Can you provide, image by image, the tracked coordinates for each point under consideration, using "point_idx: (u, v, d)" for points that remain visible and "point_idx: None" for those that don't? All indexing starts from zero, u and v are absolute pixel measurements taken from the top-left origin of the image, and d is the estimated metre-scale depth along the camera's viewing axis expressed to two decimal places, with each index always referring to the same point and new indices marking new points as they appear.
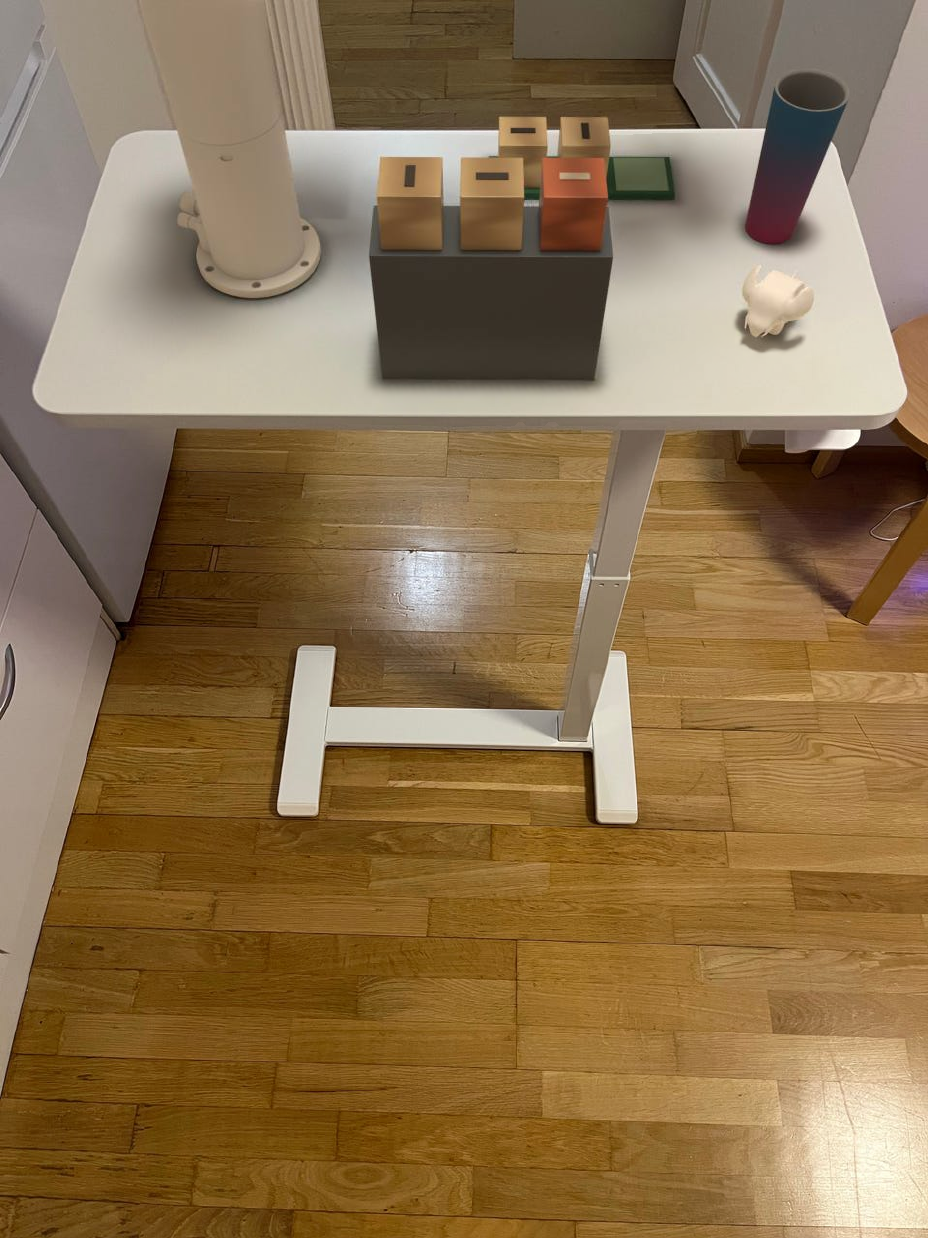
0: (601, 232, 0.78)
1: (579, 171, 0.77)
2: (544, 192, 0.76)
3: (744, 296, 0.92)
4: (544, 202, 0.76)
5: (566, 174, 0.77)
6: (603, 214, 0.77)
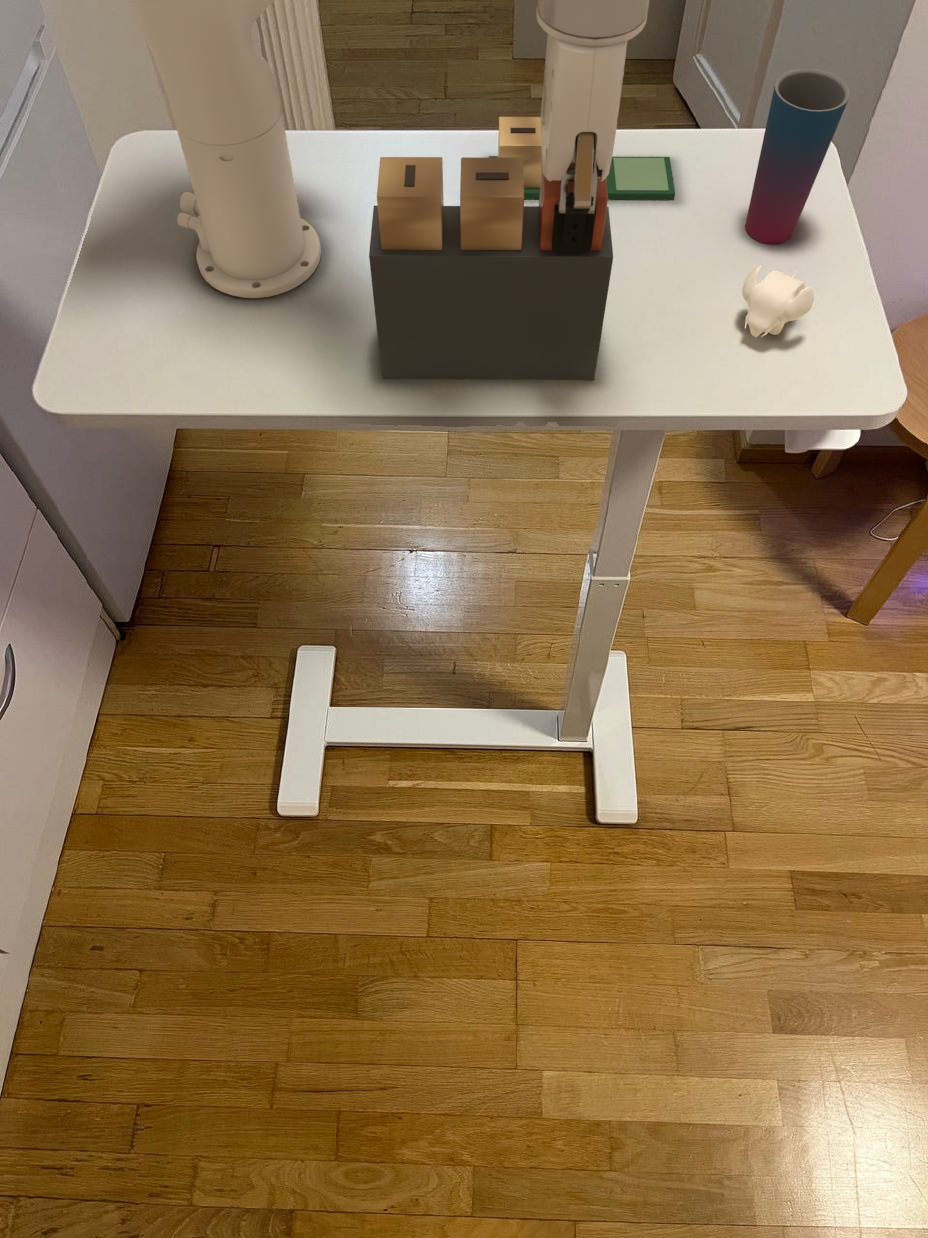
0: (601, 232, 0.78)
1: None
2: (544, 192, 0.76)
3: (744, 296, 0.92)
4: (544, 202, 0.76)
5: None
6: (603, 214, 0.77)
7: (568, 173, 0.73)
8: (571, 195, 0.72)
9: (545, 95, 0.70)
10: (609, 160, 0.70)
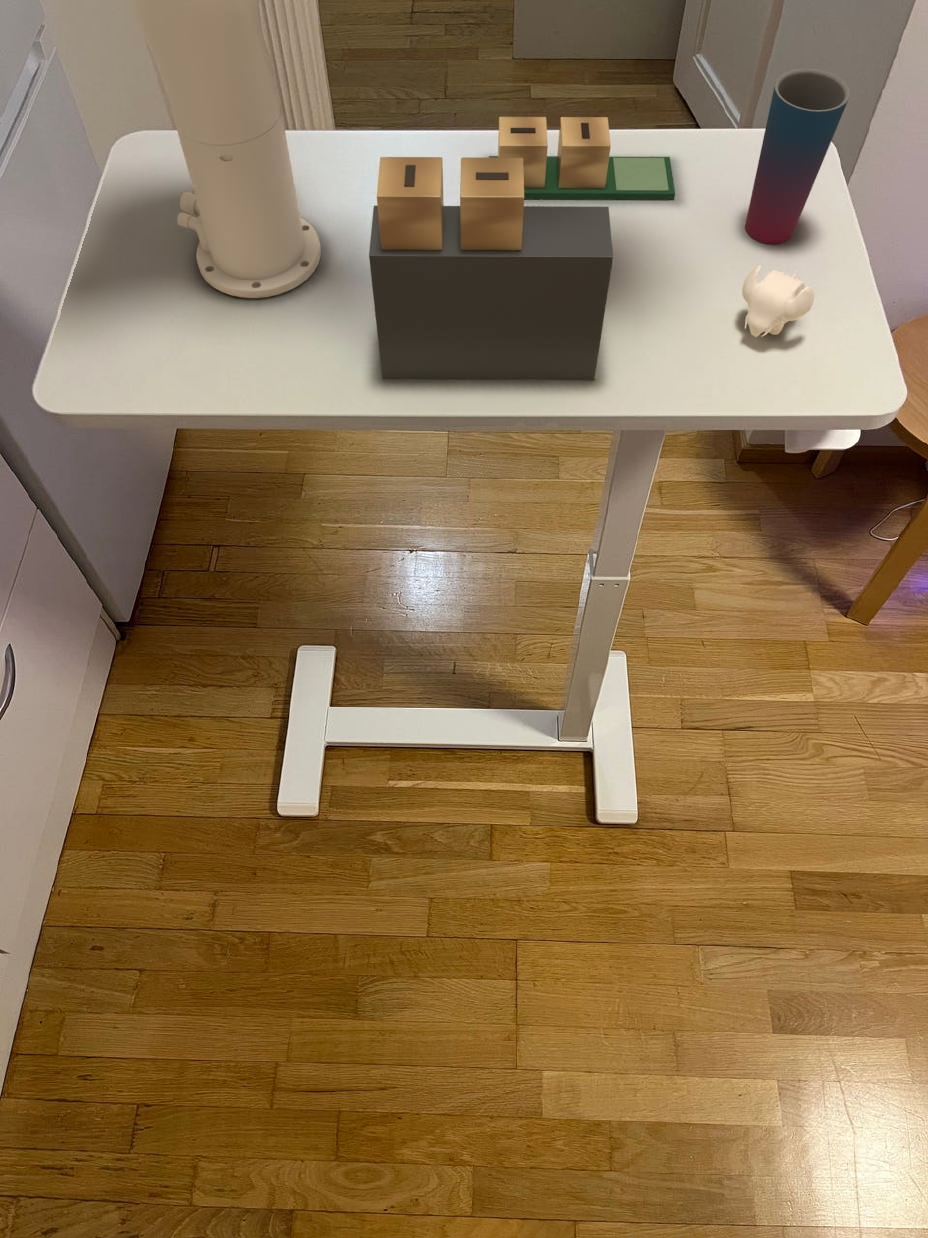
0: None
1: None
2: None
3: (744, 296, 0.92)
4: None
5: None
6: None
7: None
8: None
9: None
10: None
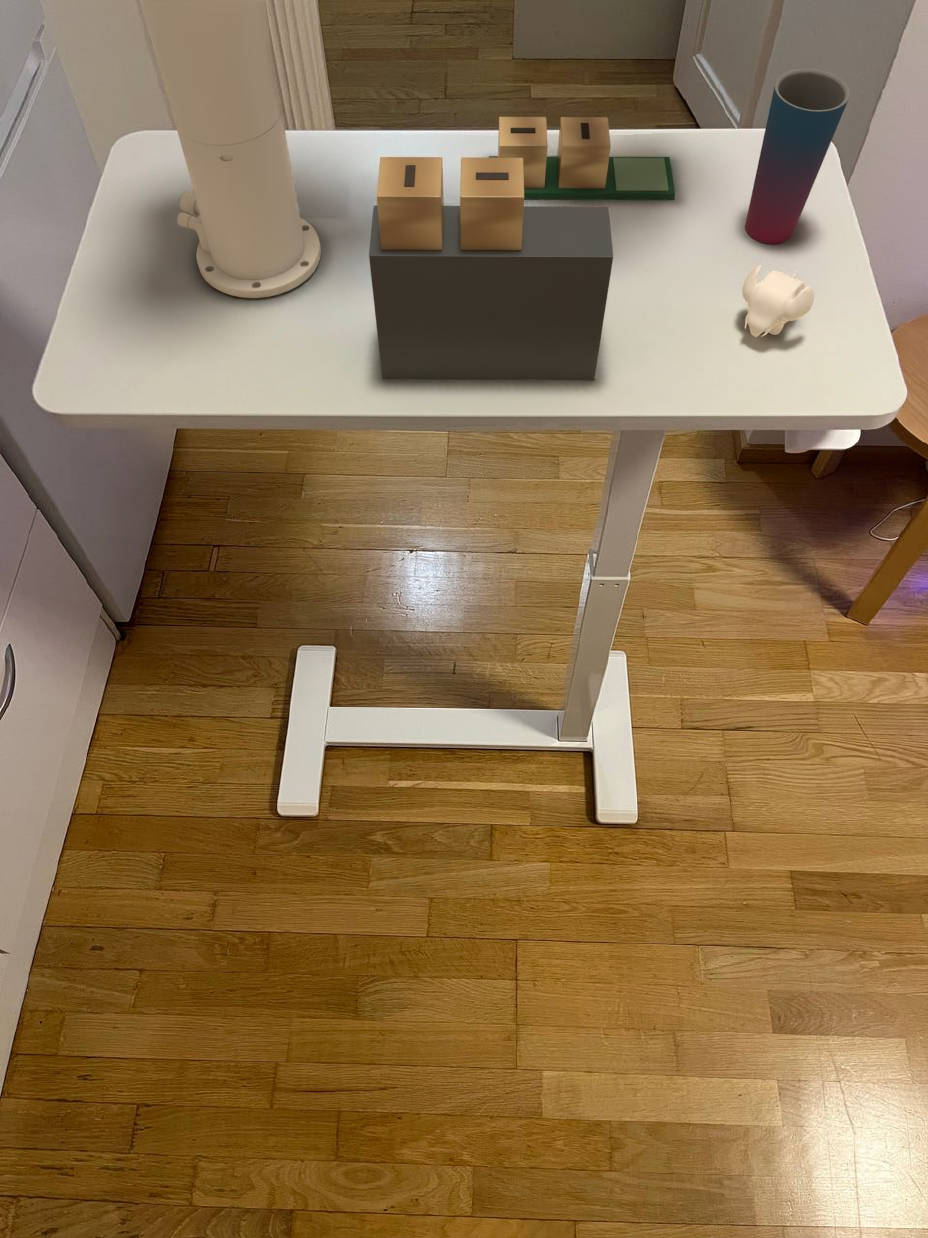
0: None
1: None
2: None
3: (744, 296, 0.92)
4: None
5: None
6: None
7: None
8: None
9: None
10: None
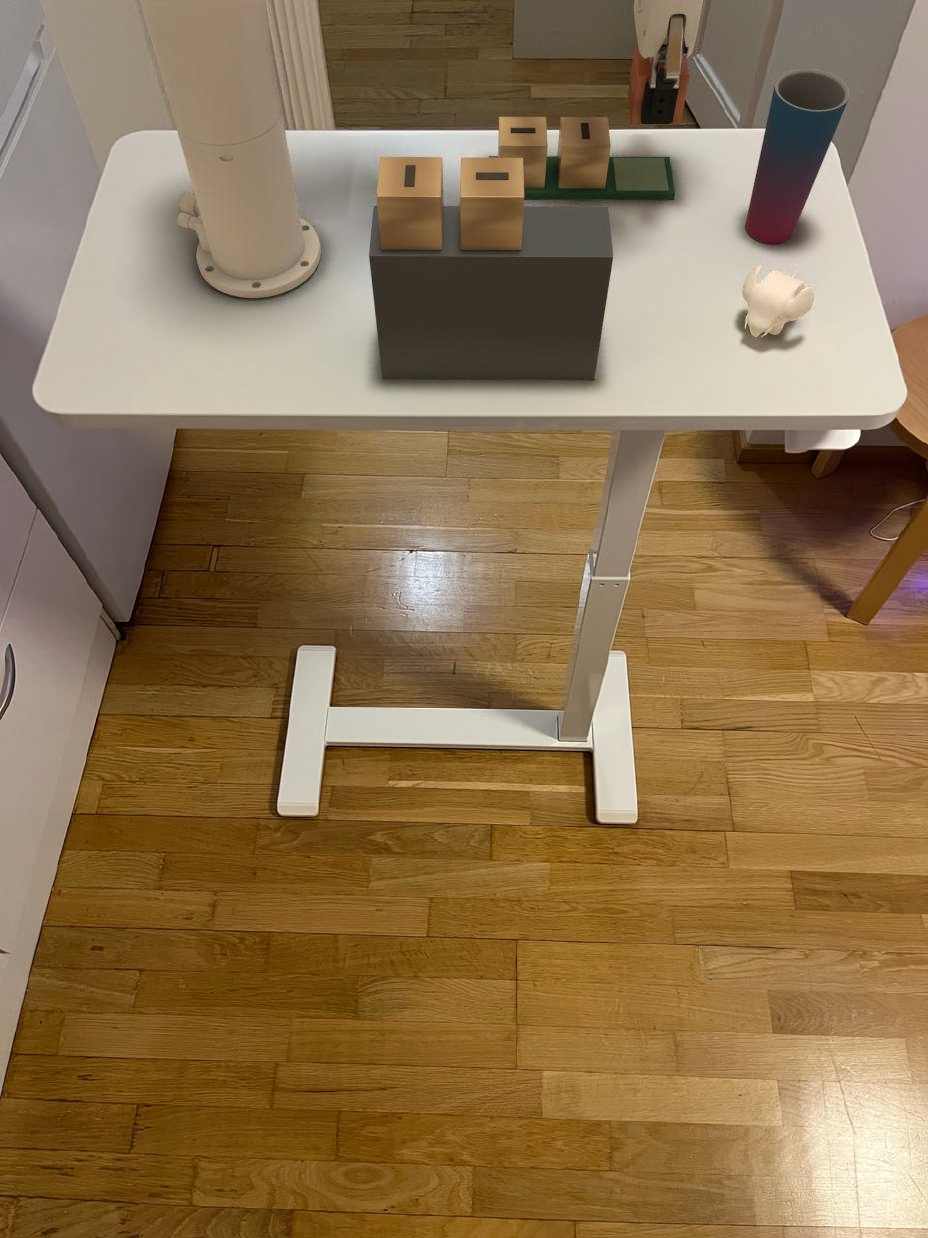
0: (682, 106, 0.97)
1: None
2: (638, 72, 0.94)
3: (744, 296, 0.92)
4: (638, 80, 0.94)
5: None
6: (685, 90, 0.95)
7: (659, 52, 0.91)
8: (662, 69, 0.91)
9: None
10: (694, 38, 0.89)
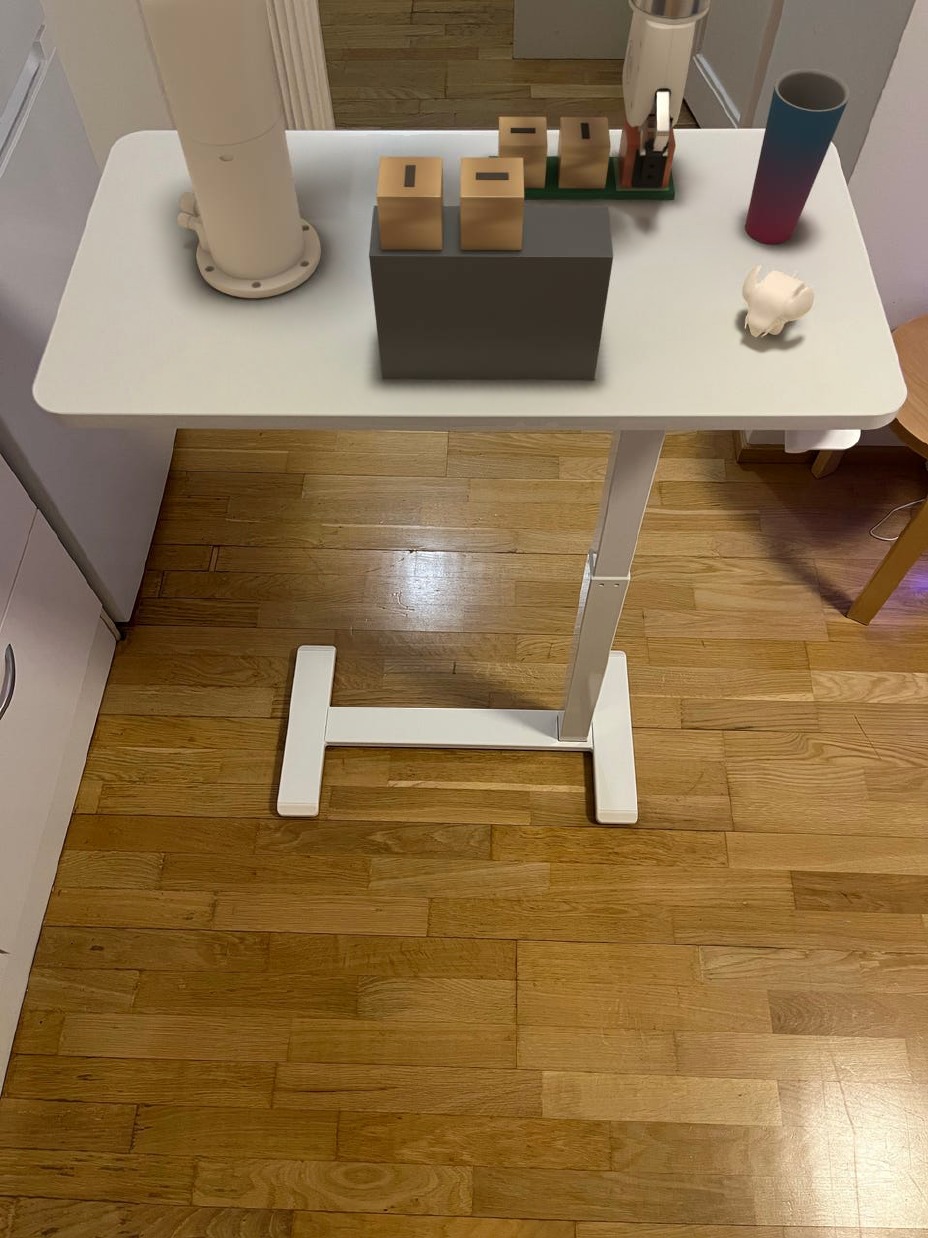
0: (668, 172, 1.03)
1: None
2: (627, 141, 1.00)
3: (744, 296, 0.92)
4: (627, 149, 1.01)
5: None
6: (671, 158, 1.01)
7: None
8: (651, 138, 0.95)
9: (631, 61, 0.94)
10: (678, 110, 0.94)
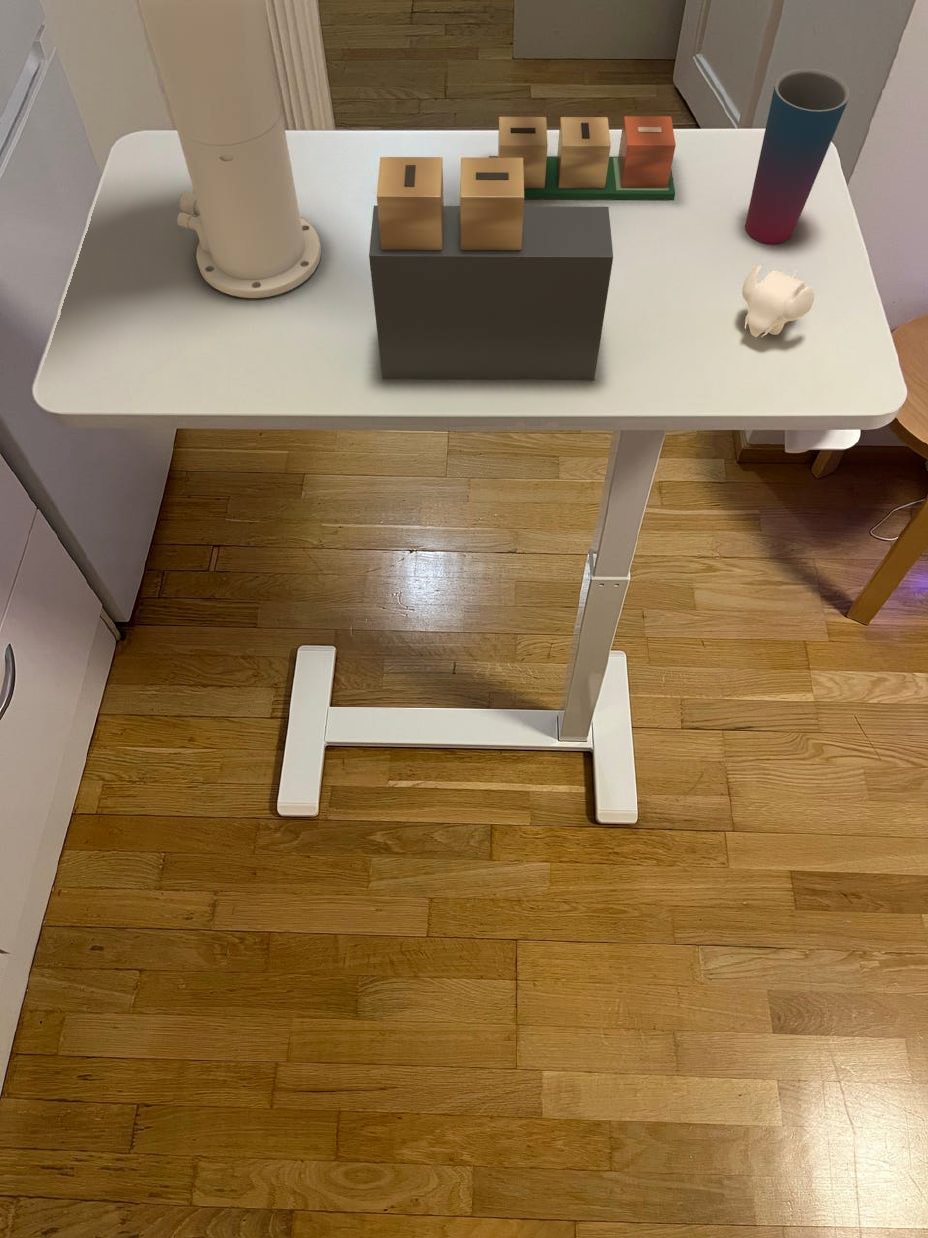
0: (668, 172, 1.03)
1: (652, 126, 1.02)
2: (627, 141, 1.00)
3: (744, 296, 0.92)
4: (627, 149, 1.01)
5: (643, 128, 1.02)
6: (671, 158, 1.01)
7: None
8: None
9: None
10: None
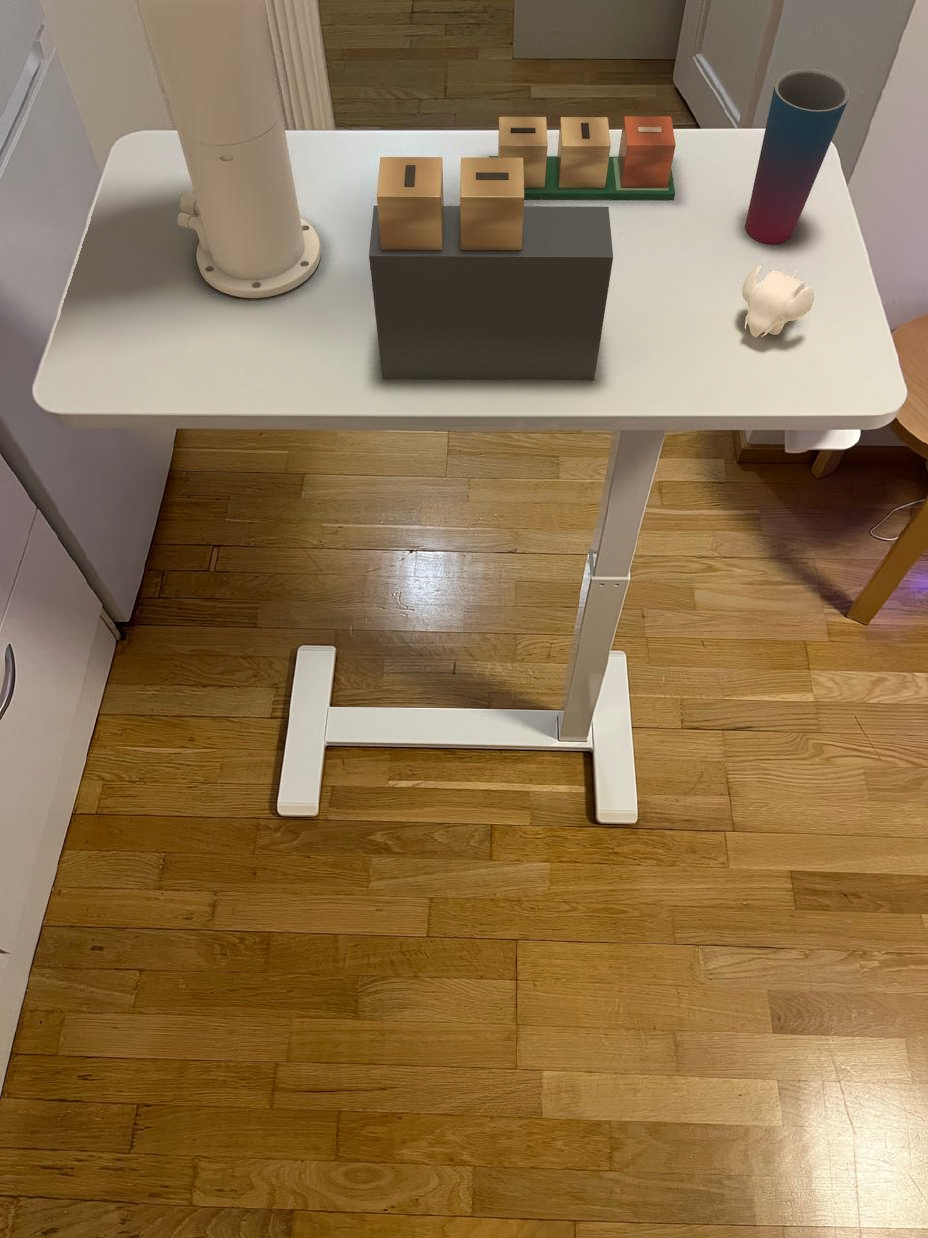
0: (668, 172, 1.03)
1: (652, 126, 1.02)
2: (627, 141, 1.00)
3: (744, 296, 0.92)
4: (627, 149, 1.01)
5: (643, 128, 1.02)
6: (671, 158, 1.01)
7: None
8: None
9: None
10: None
